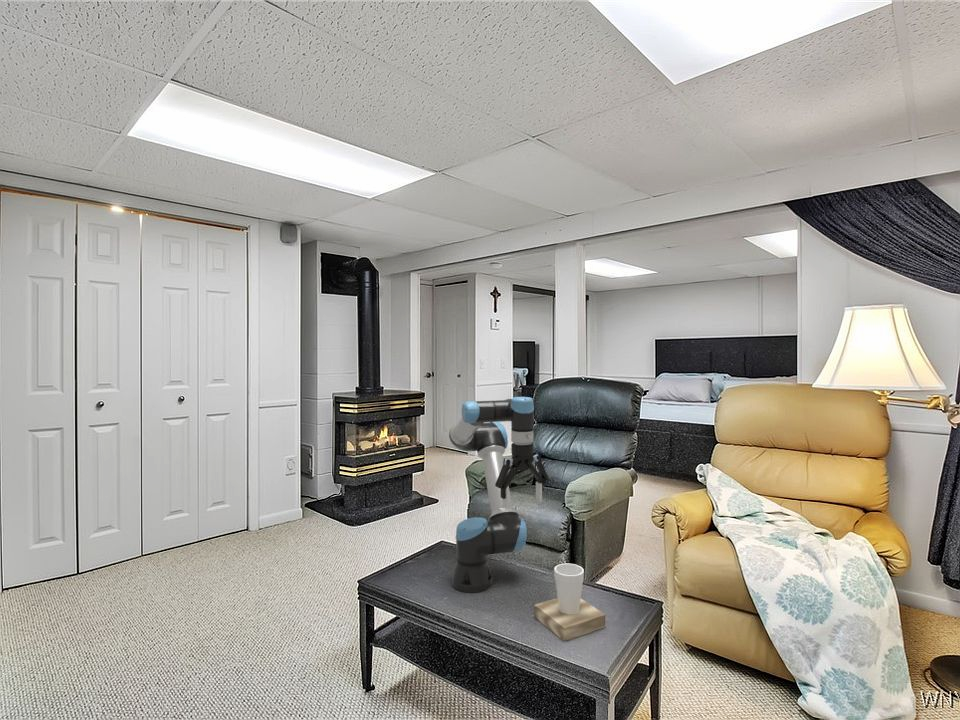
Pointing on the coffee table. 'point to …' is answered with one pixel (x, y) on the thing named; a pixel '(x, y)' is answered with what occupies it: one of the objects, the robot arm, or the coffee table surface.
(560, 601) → the foam cup
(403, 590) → the coffee table surface
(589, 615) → the wooden base
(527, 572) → the coffee table surface
